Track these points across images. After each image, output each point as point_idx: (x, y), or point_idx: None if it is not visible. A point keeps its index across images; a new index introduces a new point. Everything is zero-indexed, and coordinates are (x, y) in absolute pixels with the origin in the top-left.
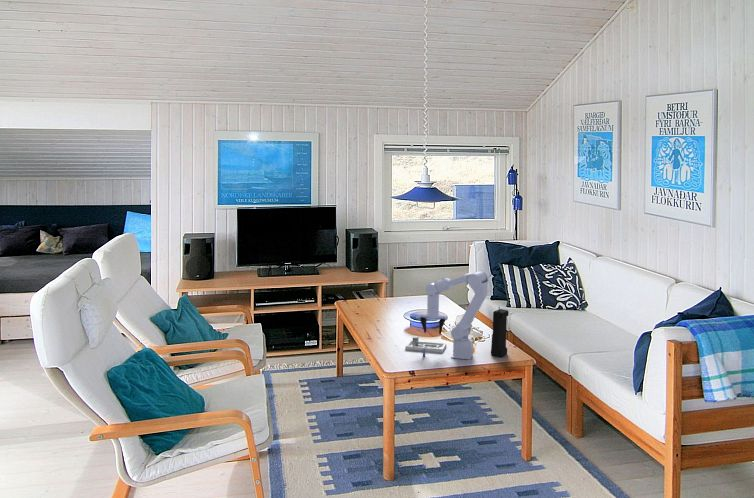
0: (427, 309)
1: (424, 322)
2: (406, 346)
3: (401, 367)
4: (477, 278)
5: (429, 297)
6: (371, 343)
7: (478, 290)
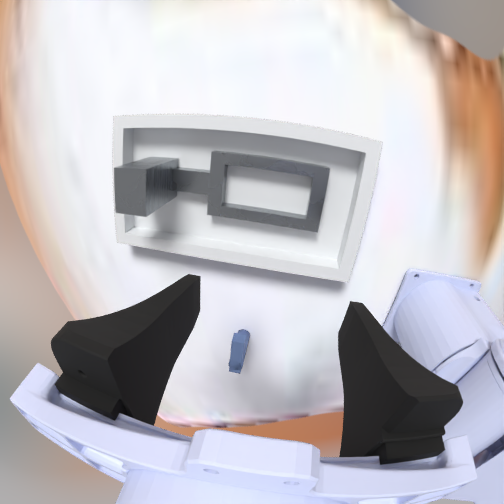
0: None
1: (154, 413)
2: (122, 242)
3: (186, 407)
4: None
5: None
6: (9, 170)
7: None
